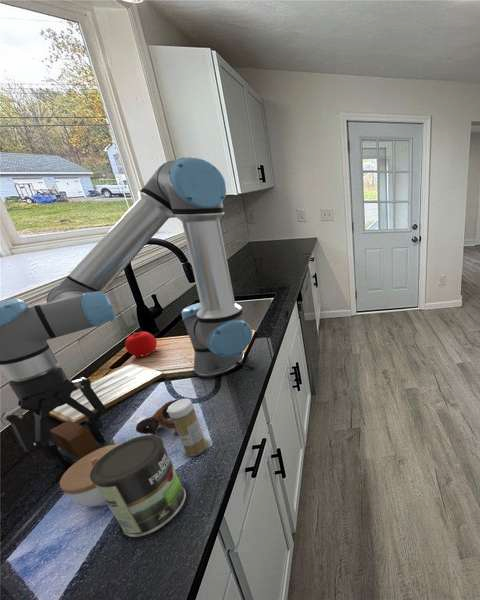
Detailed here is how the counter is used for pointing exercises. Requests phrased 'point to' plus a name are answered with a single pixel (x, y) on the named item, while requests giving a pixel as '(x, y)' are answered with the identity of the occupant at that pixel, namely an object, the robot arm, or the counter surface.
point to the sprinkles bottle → (187, 427)
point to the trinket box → (84, 480)
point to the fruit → (140, 344)
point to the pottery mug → (157, 421)
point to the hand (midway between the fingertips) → (82, 452)
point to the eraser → (74, 441)
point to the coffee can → (139, 485)
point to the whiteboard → (109, 390)
